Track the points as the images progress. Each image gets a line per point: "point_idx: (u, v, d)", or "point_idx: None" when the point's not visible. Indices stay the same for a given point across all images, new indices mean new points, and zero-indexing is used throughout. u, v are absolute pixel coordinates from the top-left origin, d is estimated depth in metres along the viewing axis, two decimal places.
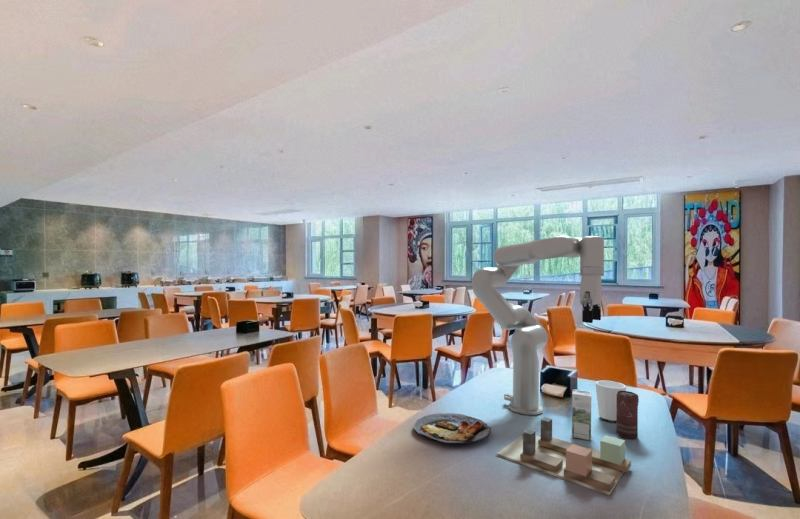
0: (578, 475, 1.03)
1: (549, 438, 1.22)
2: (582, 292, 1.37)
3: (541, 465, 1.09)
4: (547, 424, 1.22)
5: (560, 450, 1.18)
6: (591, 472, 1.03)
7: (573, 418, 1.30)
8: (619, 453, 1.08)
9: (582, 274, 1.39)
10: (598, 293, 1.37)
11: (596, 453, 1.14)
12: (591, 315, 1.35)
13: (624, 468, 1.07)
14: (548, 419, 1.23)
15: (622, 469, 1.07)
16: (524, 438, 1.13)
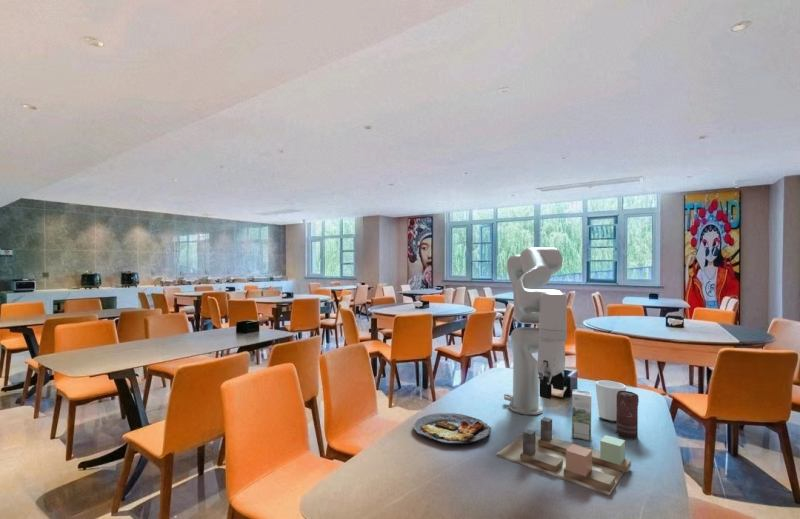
0: (578, 475, 1.03)
1: (549, 438, 1.22)
2: (540, 361, 1.14)
3: (541, 465, 1.09)
4: (547, 424, 1.22)
5: (560, 450, 1.18)
6: (591, 472, 1.03)
7: (573, 418, 1.30)
8: (619, 453, 1.08)
9: (541, 338, 1.16)
10: (559, 362, 1.15)
11: (596, 453, 1.14)
12: (549, 390, 1.12)
13: (624, 468, 1.07)
14: (548, 419, 1.23)
15: (622, 469, 1.07)
16: (524, 438, 1.13)
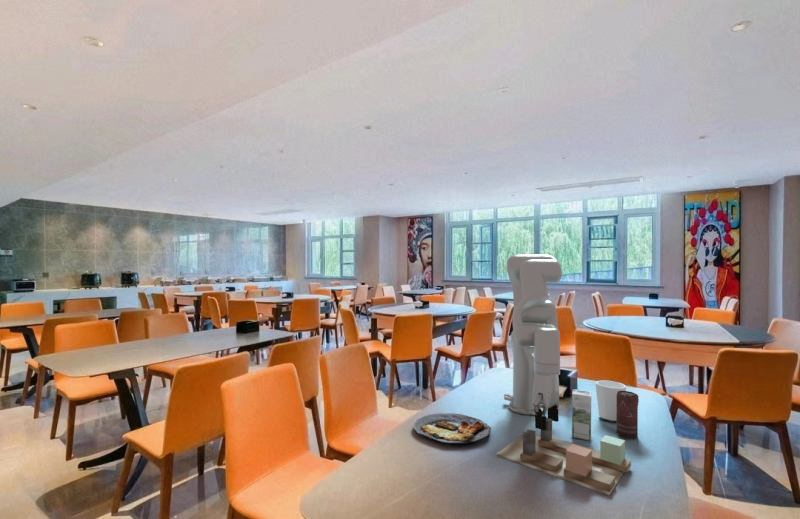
0: (578, 475, 1.03)
1: (549, 438, 1.22)
2: (535, 393, 1.20)
3: (541, 465, 1.09)
4: (547, 424, 1.22)
5: (560, 450, 1.18)
6: (591, 472, 1.03)
7: (573, 418, 1.30)
8: (619, 453, 1.08)
9: (535, 371, 1.23)
10: (553, 394, 1.21)
11: (596, 453, 1.14)
12: (544, 421, 1.18)
13: (624, 468, 1.07)
14: (548, 419, 1.23)
15: (622, 469, 1.07)
16: (524, 438, 1.13)
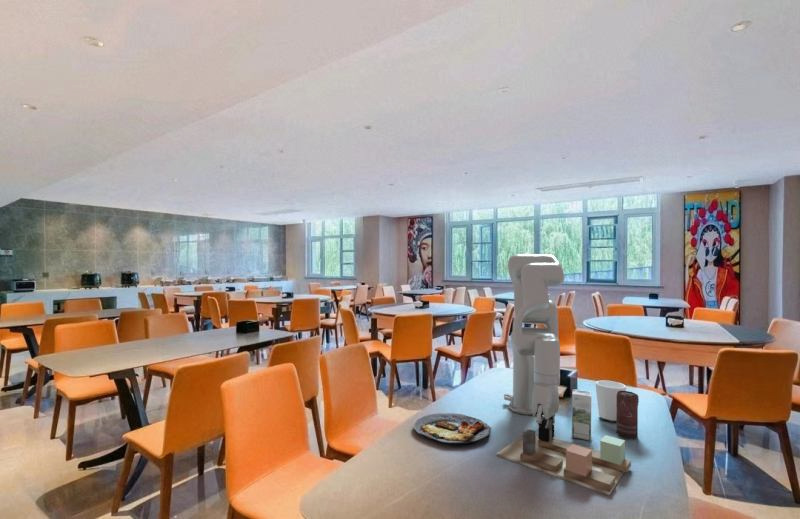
0: (578, 475, 1.03)
1: (549, 438, 1.22)
2: (534, 403, 1.21)
3: (541, 465, 1.09)
4: None
5: (560, 450, 1.18)
6: (591, 472, 1.03)
7: (573, 418, 1.30)
8: (619, 453, 1.08)
9: (535, 381, 1.23)
10: (553, 404, 1.21)
11: (596, 453, 1.14)
12: (547, 433, 1.21)
13: (624, 468, 1.07)
14: None
15: (622, 469, 1.07)
16: (524, 438, 1.13)
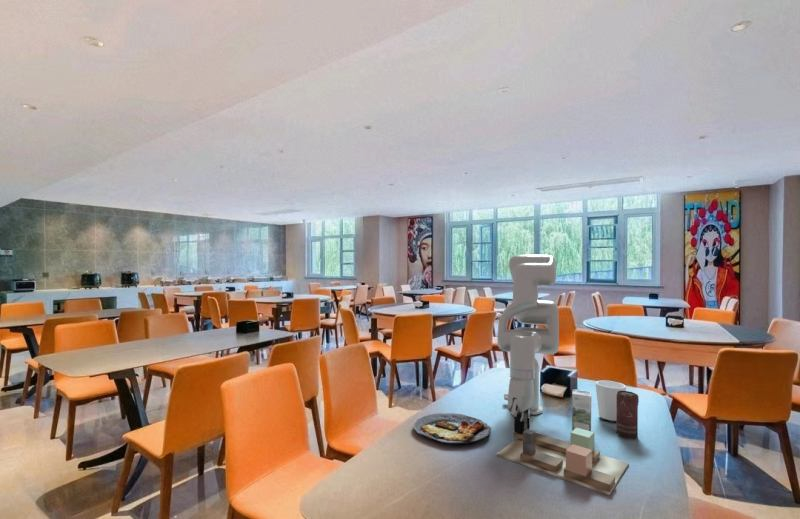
0: (578, 475, 1.03)
1: None
2: (510, 397, 1.26)
3: (541, 465, 1.09)
4: None
5: None
6: (591, 472, 1.03)
7: (573, 418, 1.30)
8: (588, 444, 1.13)
9: (511, 376, 1.28)
10: (527, 398, 1.26)
11: (567, 444, 1.19)
12: (522, 426, 1.26)
13: (592, 458, 1.12)
14: None
15: None
16: (524, 438, 1.13)
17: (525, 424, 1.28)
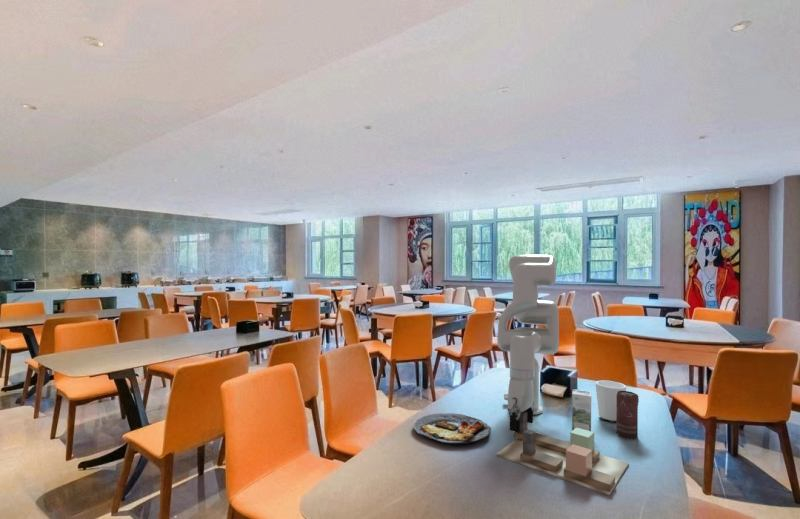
0: (578, 475, 1.03)
1: None
2: (510, 397, 1.26)
3: (541, 465, 1.09)
4: (522, 417, 1.27)
5: None
6: (591, 472, 1.03)
7: (573, 418, 1.30)
8: (587, 444, 1.13)
9: (511, 376, 1.28)
10: (527, 398, 1.26)
11: (567, 444, 1.19)
12: (518, 424, 1.24)
13: (592, 458, 1.12)
14: (523, 412, 1.28)
15: None
16: (524, 438, 1.13)
17: (525, 424, 1.28)
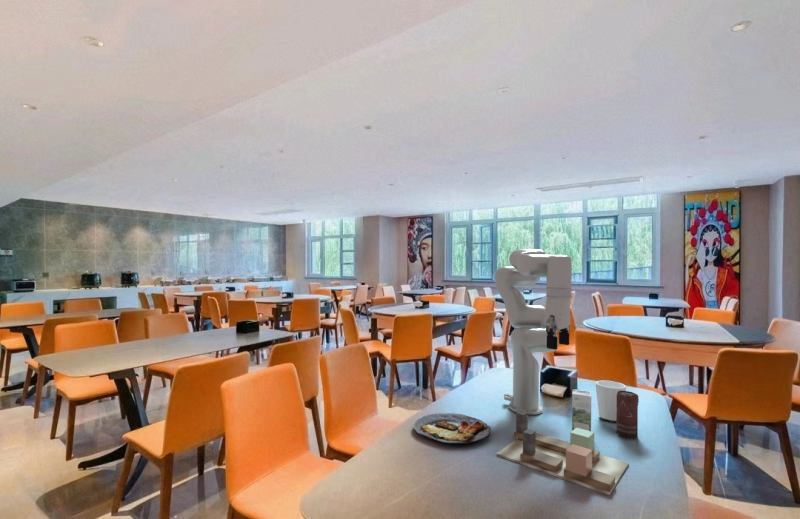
0: (578, 475, 1.03)
1: None
2: (547, 316, 1.27)
3: (541, 465, 1.09)
4: (522, 417, 1.27)
5: None
6: (591, 472, 1.03)
7: (573, 418, 1.30)
8: (587, 444, 1.13)
9: (548, 296, 1.29)
10: (564, 317, 1.27)
11: (567, 444, 1.19)
12: (555, 341, 1.25)
13: (592, 458, 1.12)
14: (523, 412, 1.28)
15: None
16: (524, 438, 1.13)
17: (525, 424, 1.28)
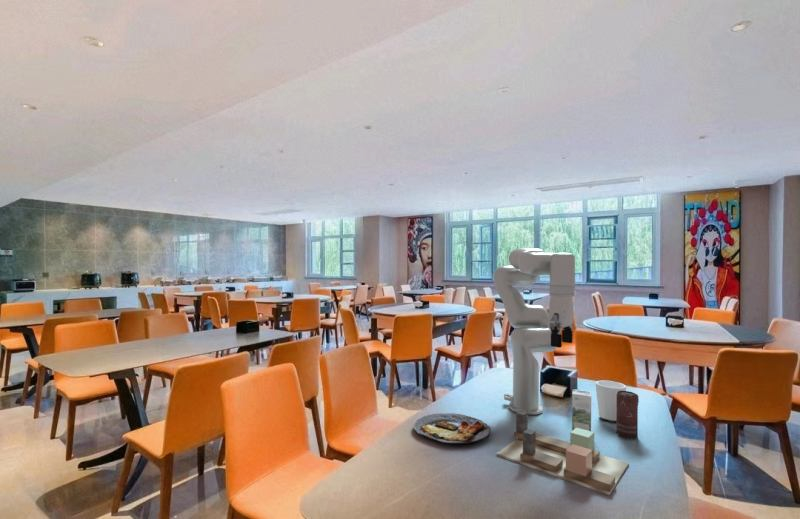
0: (578, 475, 1.03)
1: None
2: (551, 314, 1.26)
3: (541, 465, 1.09)
4: (522, 417, 1.27)
5: None
6: (591, 472, 1.03)
7: (573, 418, 1.30)
8: (587, 444, 1.13)
9: (551, 294, 1.28)
10: (568, 315, 1.27)
11: (567, 444, 1.19)
12: (560, 339, 1.24)
13: (592, 458, 1.12)
14: (523, 412, 1.28)
15: None
16: (524, 438, 1.13)
17: (525, 424, 1.28)
